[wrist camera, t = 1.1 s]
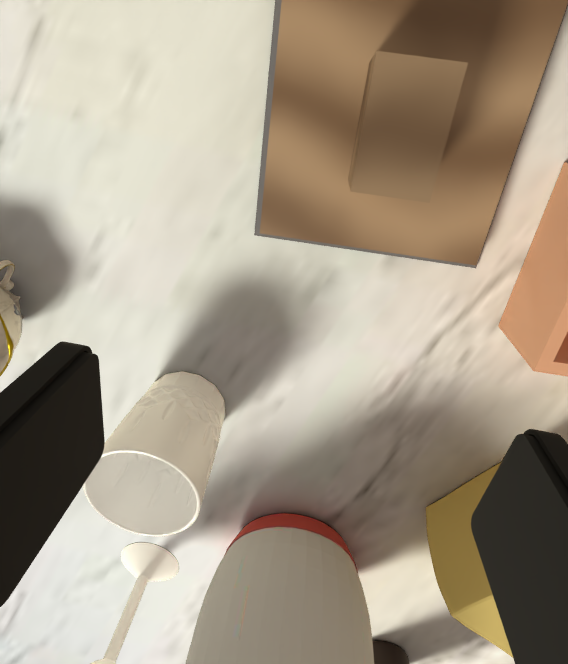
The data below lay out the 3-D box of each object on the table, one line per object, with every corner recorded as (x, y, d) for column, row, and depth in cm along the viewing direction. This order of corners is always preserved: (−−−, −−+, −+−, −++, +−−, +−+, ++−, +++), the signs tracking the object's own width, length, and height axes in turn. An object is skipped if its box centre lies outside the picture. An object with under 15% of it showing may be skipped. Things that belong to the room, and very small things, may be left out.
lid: (288, -38, 22) (274, -85, 17) (560, -5, 21) (630, -42, 16) (262, 228, 28) (246, 253, 23) (470, 259, 28) (501, 291, 23)
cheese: (591, 510, 37) (672, 633, 28) (487, 561, 41) (529, 682, 33) (517, 443, 35) (580, 556, 26) (415, 505, 39) (439, 620, 30)
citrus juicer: (318, 619, 49) (310, 907, 31) (190, 550, 45) (99, 827, 28) (414, 555, 42) (473, 875, 24) (273, 469, 39) (223, 766, 21)
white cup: (157, 349, 34) (96, 431, 25) (246, 388, 35) (217, 481, 26) (133, 417, 38) (71, 509, 29) (214, 451, 38) (178, 551, 30)
